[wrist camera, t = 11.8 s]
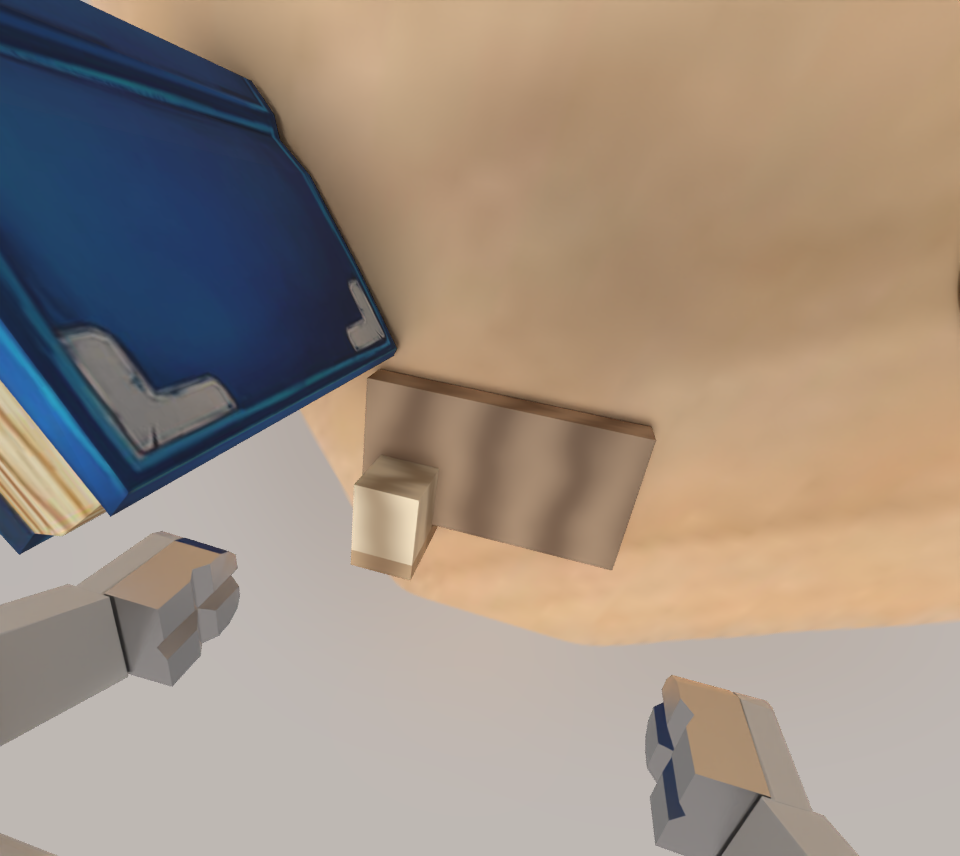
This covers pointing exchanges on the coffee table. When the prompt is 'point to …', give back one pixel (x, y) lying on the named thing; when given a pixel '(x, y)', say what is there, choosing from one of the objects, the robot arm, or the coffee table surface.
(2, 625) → the robot arm
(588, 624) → the coffee table surface
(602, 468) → the board
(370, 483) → the block
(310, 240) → the book
